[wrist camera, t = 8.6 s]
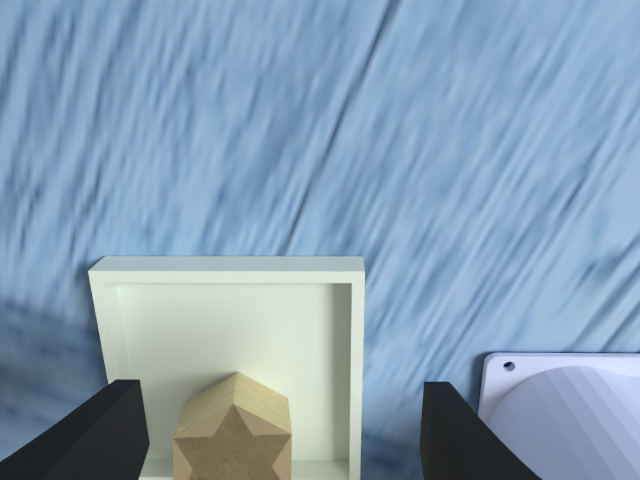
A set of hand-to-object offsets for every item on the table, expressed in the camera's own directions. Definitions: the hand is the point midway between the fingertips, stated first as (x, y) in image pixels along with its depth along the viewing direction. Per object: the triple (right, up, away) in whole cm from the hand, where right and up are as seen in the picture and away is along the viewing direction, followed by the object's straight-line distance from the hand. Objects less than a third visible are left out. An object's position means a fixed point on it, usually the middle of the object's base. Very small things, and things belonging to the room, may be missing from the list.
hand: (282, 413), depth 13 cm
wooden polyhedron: (-3, -4, +10) cm, 12 cm away
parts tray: (-3, -1, +11) cm, 11 cm away
